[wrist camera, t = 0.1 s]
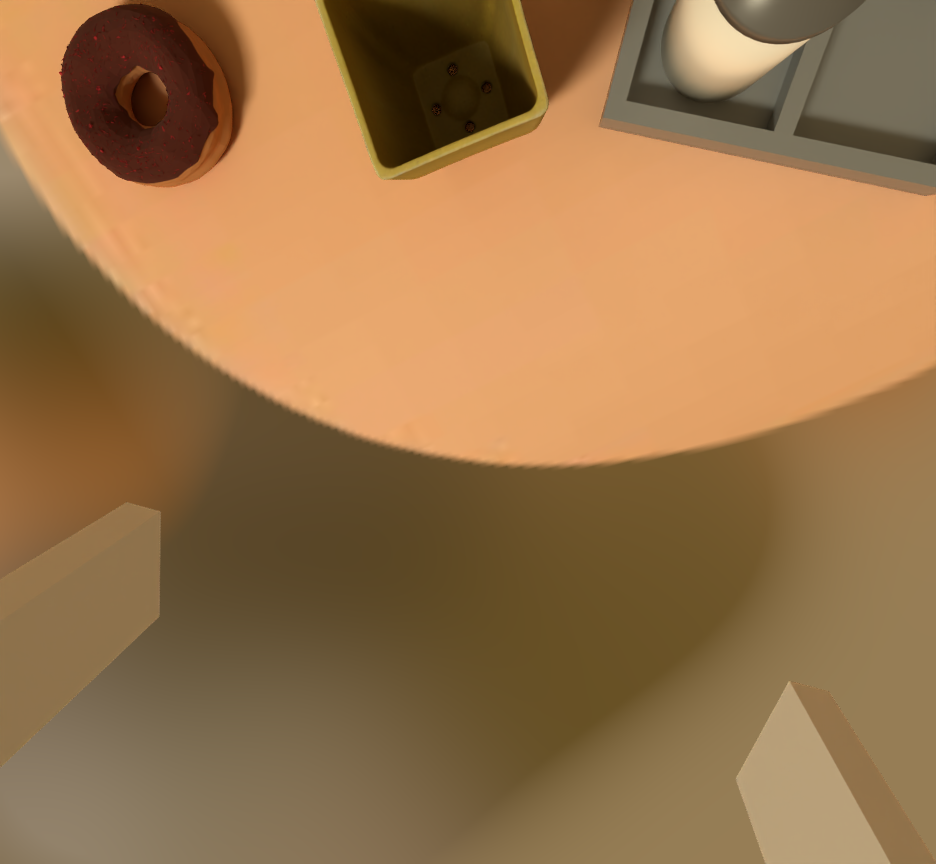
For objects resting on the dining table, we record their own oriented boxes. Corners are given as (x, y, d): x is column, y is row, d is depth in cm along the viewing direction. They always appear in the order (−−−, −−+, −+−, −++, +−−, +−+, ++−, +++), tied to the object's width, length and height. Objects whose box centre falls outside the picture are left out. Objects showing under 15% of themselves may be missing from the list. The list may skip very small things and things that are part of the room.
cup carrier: (653, -83, 29) (719, -290, 18) (1023, -14, 27) (1341, -189, 16) (598, 126, 32) (625, 64, 21) (924, 195, 31) (1134, 167, 20)
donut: (237, 23, 33) (198, -5, 30) (243, 196, 37) (209, 191, 33) (87, 12, 34) (30, -16, 30) (106, 182, 38) (57, 175, 34)
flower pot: (368, 48, 33) (306, -20, 24) (507, -18, 30) (491, -119, 22) (419, 198, 35) (378, 183, 26) (551, 146, 33) (552, 111, 24)
